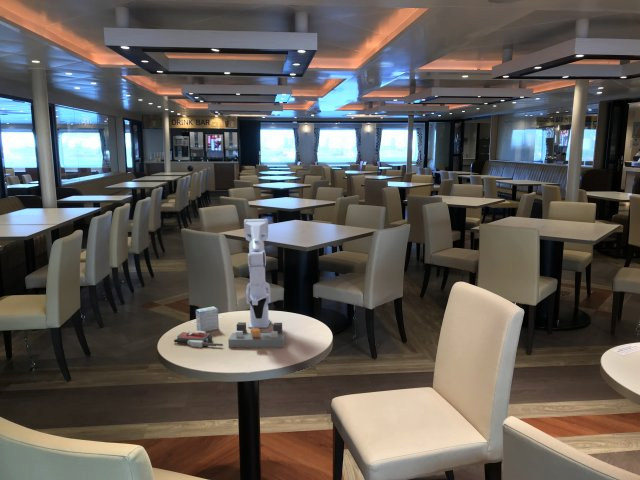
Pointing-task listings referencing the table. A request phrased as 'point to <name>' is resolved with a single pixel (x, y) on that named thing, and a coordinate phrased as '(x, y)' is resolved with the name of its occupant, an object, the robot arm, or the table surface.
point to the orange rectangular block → (255, 333)
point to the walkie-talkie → (196, 339)
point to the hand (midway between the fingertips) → (258, 318)
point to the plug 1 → (241, 327)
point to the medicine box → (207, 319)
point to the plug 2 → (277, 327)
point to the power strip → (257, 340)
